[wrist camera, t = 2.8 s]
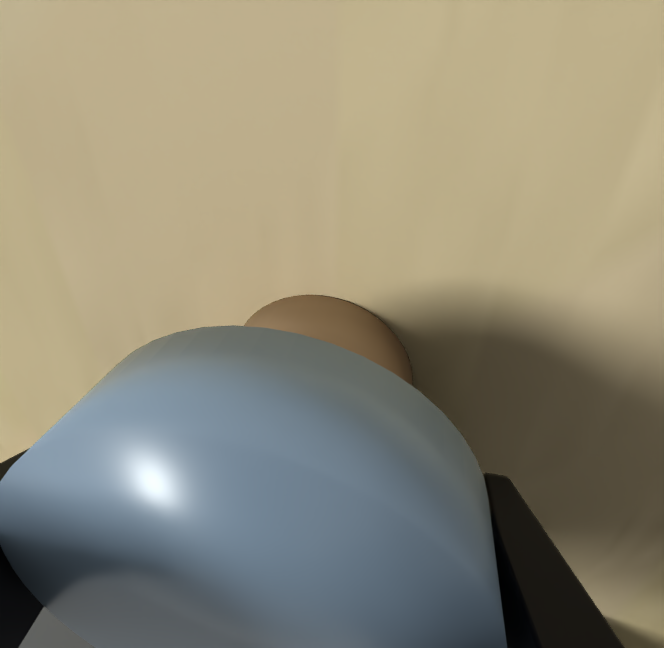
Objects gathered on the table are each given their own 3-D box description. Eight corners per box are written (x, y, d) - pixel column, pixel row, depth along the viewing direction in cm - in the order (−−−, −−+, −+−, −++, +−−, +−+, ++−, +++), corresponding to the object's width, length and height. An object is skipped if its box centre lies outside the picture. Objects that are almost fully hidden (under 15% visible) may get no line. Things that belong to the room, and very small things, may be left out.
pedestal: (441, 419, 11) (445, 557, 8) (292, 456, 12) (247, 582, 9) (359, 264, 9) (323, 364, 6) (200, 333, 11) (111, 437, 8)
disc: (546, 594, 8) (578, 746, 6) (235, 618, 10) (196, 726, 9) (366, 244, 5) (332, 339, 3) (14, 402, 8) (-102, 497, 6)
